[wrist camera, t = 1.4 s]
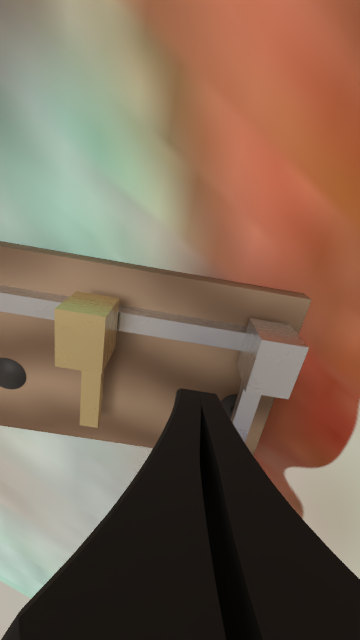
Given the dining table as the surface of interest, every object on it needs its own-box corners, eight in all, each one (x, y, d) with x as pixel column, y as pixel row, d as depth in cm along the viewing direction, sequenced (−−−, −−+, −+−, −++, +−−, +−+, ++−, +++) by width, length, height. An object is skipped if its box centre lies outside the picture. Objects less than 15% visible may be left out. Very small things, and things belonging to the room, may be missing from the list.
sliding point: (113, 410, 20) (96, 457, 17) (80, 405, 20) (55, 451, 16) (124, 291, 17) (105, 317, 13) (84, 285, 17) (54, 308, 13)
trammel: (256, 429, 21) (270, 477, 17) (-26, 386, 20) (-74, 427, 16) (296, 319, 17) (324, 350, 14) (-44, 261, 17) (-110, 278, 13)
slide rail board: (247, 450, 23) (250, 463, 22) (-16, 410, 23) (-28, 422, 21) (303, 293, 18) (311, 300, 17) (-41, 234, 17) (-57, 236, 16)
